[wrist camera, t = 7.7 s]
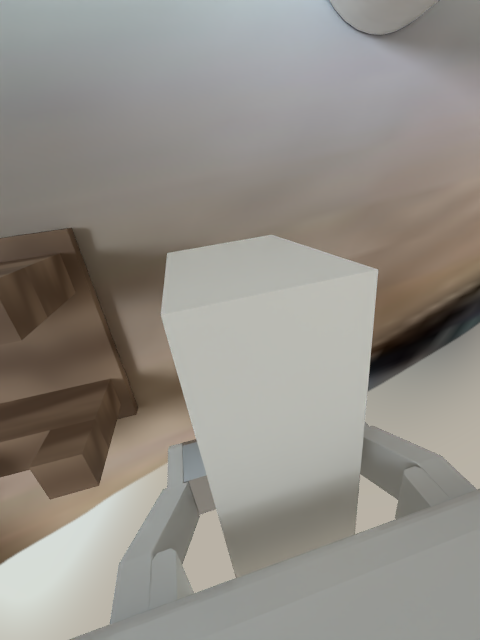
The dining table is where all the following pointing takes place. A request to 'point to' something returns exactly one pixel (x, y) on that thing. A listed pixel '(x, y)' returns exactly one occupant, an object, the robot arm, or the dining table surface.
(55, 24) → the dining table surface
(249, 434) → the white rectangular block
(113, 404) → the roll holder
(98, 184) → the dining table surface
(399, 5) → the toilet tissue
